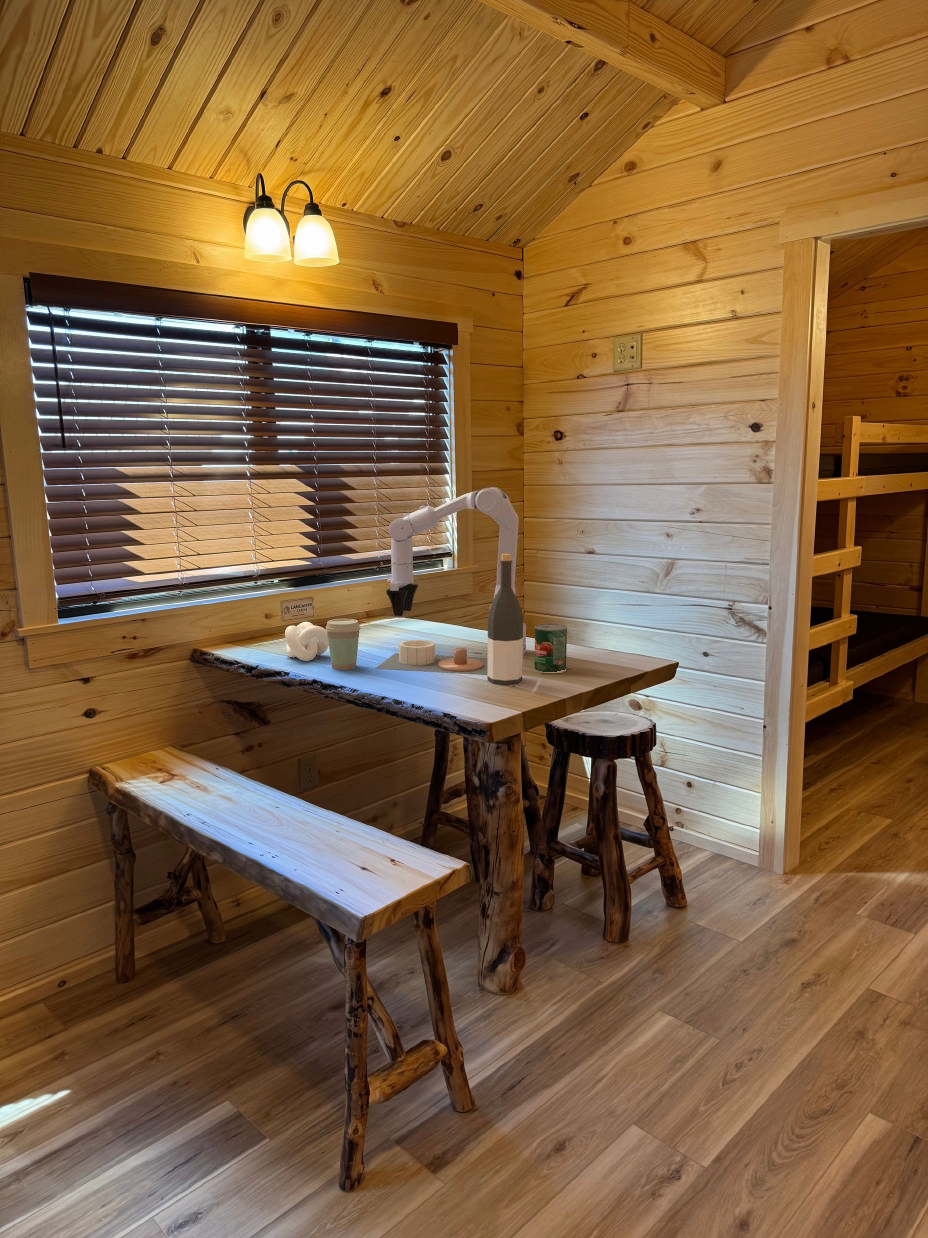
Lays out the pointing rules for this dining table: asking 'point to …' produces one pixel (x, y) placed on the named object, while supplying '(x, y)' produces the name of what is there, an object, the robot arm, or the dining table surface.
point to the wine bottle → (505, 632)
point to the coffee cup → (343, 642)
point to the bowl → (416, 652)
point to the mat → (430, 665)
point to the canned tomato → (550, 647)
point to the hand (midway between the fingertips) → (402, 613)
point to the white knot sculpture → (306, 641)
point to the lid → (460, 662)
